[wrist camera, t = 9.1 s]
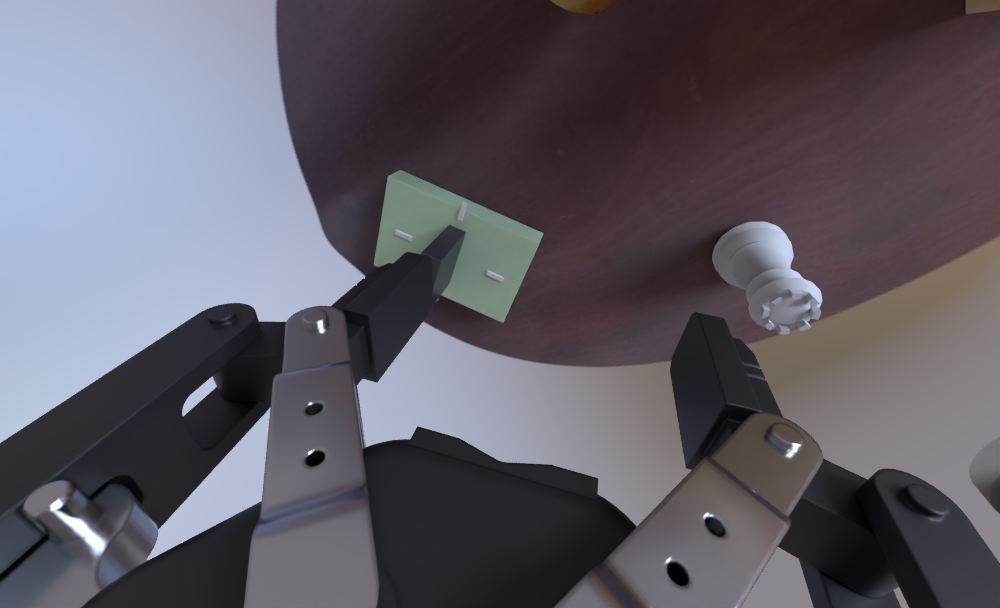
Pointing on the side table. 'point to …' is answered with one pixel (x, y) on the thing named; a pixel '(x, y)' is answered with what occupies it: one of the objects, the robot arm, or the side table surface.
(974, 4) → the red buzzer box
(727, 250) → the rook chess piece
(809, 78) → the side table surface
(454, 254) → the black box
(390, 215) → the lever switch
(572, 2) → the fruit
